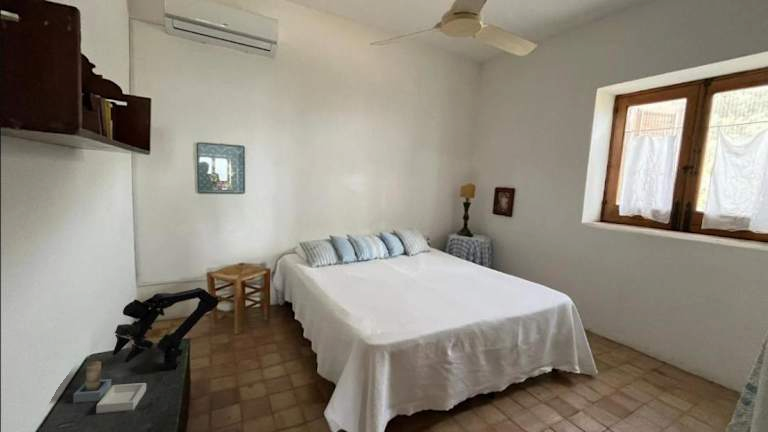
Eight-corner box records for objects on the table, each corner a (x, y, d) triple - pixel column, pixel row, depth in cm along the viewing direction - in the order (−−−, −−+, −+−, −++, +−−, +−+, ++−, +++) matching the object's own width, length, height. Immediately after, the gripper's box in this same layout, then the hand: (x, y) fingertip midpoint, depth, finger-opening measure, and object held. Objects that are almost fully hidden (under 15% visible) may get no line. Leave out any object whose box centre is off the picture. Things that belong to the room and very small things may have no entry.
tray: (112, 393, 128) (112, 385, 127) (146, 390, 131) (146, 382, 131) (96, 413, 117) (96, 405, 116) (133, 410, 120) (133, 401, 120)
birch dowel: (89, 391, 127) (90, 361, 126) (102, 390, 129) (103, 360, 127) (82, 398, 123) (83, 368, 122) (96, 397, 124) (97, 367, 123)
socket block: (86, 388, 129) (86, 380, 128) (111, 386, 131) (111, 379, 131) (73, 402, 121) (73, 394, 120) (99, 400, 123) (99, 392, 123)
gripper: (116, 310, 133) (88, 347, 126) (141, 322, 126) (112, 362, 118) (140, 318, 142) (114, 352, 135) (164, 330, 134) (138, 367, 127)
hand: (119, 358), depth 129 cm, fingers open, 9 cm apart
